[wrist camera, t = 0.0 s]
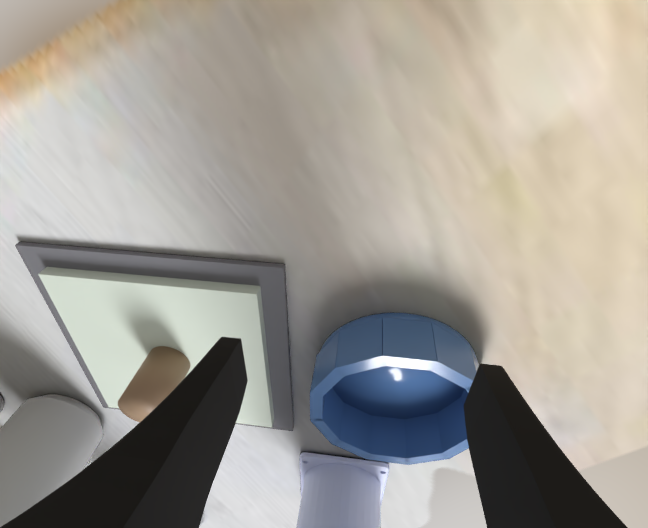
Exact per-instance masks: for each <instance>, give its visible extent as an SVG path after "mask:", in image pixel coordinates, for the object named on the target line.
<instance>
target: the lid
mask: <svg viewBox="0 0 648 528" xmlns="http://www.w3.org/2000/svg"><path fill="white" fill-rule="evenodd" d="M38 275H39V277H40V279H41V281H42V283H43V285H44V286H45V288H46V290H47V292H48V294H49V296H50V298H51V300H52V301H53V303H54V305H55V307H56V309H57V311H58V313H59V315H60V316H61V318H62V320H63V322H64V324H65V326H66V328H67V330H68V332H69V333H70V335H71V337H72V339H73V341H74V343H75V345H76V347H77V348H78V350H79V352H80V354H81V356H82V358H83V360H84V362H85V363H86V365H87V367H88V369H89V371H90V373H91V375H92V377H93V379H94V380H95V382H96V384H97V386H98V388H99V390H100V392H101V394H102V395H103V397H104V399H105V401H106V403H107V405H108V407H111V408H119V409H120V410H121V411H122V412H123V413H124V414H125V415H126V416H128V417H129V418H131V419H133V420H135V421H138V422H141V421H142V420H143V419H144V418H145V417H146V416H148V415H149V414H150V413H151V412H152V411H153V410H154V409H155V408H156V407H157V406H158V405H159V404H160V403H161V402H162V401H163V400H164V399H165V398H166V397H167V396H168V395H169V394H170V393H171V392H172V391H173V390H174V389H175V388H176V387H177V386H178V385H179V383H180V382H181V381H182V380H183V379H184V378H185V377H186V376H187V375H188V374H189V373H190V372H191V371H192V370H193V368H194V367H195V366H196V365H197V364H198V363H199V362H200V361H201V359H202V358H203V357H204V356H205V355H206V354H207V353H208V351H209V350H210V349H211V348H212V347H213V346H214V344H215V343H216V342H217V341H218V340H219V339H220V338H221V337H230V338H240V339H241V341H242V348H243V354H244V360H245V366H246V373H247V379H248V382H247V386H246V390H245V394H244V398H243V401H242V405H241V409H240V413H239V415H238V418H237V421H236V423H239V424H247V425H255V426H263V427H271V428H272V426H273V422H274V410H273V401H272V391H271V382H270V372H269V363H268V354H267V344H266V335H265V325H264V316H263V307H262V297H261V288H260V286H255V285H244V284H233V283H222V282H211V281H200V280H189V279H177V278H166V277H155V276H144V275H133V274H122V273H111V272H100V271H89V270H78V269H67V268H56V267H46V268H45V269H44V270H43V271H41V272H40V273H39V274H38Z"/></svg>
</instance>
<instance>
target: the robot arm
mask: <svg viewBox="0 0 648 528" xmlns="http://www.w3.org/2000/svg"><path fill="white" fill-rule="evenodd" d="M247 382H248V379H247V373H246V366H245V360H244V354H243V348H242V341H241V339H240V338H230V337H221V338H220V339H219V340H218V341H217V342H216V343H215V344H214V346H213V347H212V348H211V349H210V350H209V351H208V353H207V354H206V355H205V356H204V357H203V358H202V359H201V361H200V362H199V363H198V364H197V365H196V366H195V367H194V368H193V370H192V371H191V372H190V373H189V374H188V375H187V376H186V377H185V378H184V379H183V380H182V381H181V382H180V383H179V385H178V386H177V387H176V388H175V389H174V390H173V391H172V392H171V393H170V394H169V395H168V396H167V397H166V398H165V399H164V400H163V401H162V402H161V403H160V404H159V405H158V406H157V407H156V408H155V409H154V410H153V411H152V412H151V413H150V414H149V415H148V416H146V417H145V418H144V419H143V420H142V421H141V422H140V423H139V424H138V425H137V426H136V427H135V428H133V429H132V430H131V431H130V432H129V433H128V434H127V435H125V436H124V437H123V438H122V439H121V440H120V441H118V442H117V443H116V444H115V445H114V446H113V447H111V448H110V449H109V450H108V451H106V452H105V453H104V454H103V455H101V456H100V457H99V458H98V459H96V460H95V461H94V462H93V463H91V464H90V465H89V466H88V467H86V468H85V469H84V470H82V471H81V472H80V473H78V474H77V475H76V476H74V477H73V478H72V479H70V480H69V481H68V482H66V483H65V484H63V485H62V486H60V487H59V488H58V489H56V490H55V491H53V492H52V493H50V494H49V495H48V496H46V497H45V498H43V499H42V500H40V501H39V502H38V503H36V504H35V505H33V506H32V507H31V508H29V509H28V510H26V511H25V512H23V513H22V514H20V515H19V516H17V517H16V518H14V519H12V520H11V521H9V522H8V523H6V524H4V525H3V526H1V527H0V528H199V525H200V521H201V518H202V514H203V511H204V507H205V504H206V501H207V498H208V495H209V492H210V489H211V486H212V483H213V480H214V478H215V475H216V473H217V470H218V467H219V465H220V462H221V460H222V457H223V455H224V452H225V449H226V447H227V444H228V442H229V439H230V436H231V434H232V431H233V428H234V426H235V423H236V421H237V418H238V415H239V413H240V409H241V405H242V401H243V398H244V394H245V390H246V386H247ZM464 415H465V425H466V433H467V441H468V446H469V450H470V455H471V459H472V463H473V468H474V472H475V477H476V481H477V485H478V489H479V493H480V498H481V502H482V506H483V511H484V515H485V519H486V524H487V528H627V527H626V526H625V524H623V523H622V521H621V520H620V519H619V518H618V517H617V516H616V515H615V514H614V513H613V511H612V510H611V509H610V508H609V507H608V506H607V505H606V504H605V502H604V501H603V500H602V499H601V498H600V497H599V496H598V494H597V493H596V492H595V491H594V490H593V489H592V487H591V486H590V485H589V484H588V483H587V482H586V480H585V479H584V478H583V477H582V475H581V474H580V473H579V472H578V471H577V469H576V468H575V467H574V466H573V464H572V463H571V462H570V461H569V459H568V458H567V457H566V456H565V454H564V453H563V452H562V450H561V449H560V448H559V447H558V445H557V444H556V443H555V441H554V440H553V438H552V437H551V436H550V434H549V433H548V432H547V430H546V429H545V428H544V426H543V425H542V424H541V422H540V421H539V420H538V418H537V417H536V415H535V414H534V413H533V411H532V410H531V408H530V407H529V405H528V404H527V402H526V401H525V400H524V398H523V397H522V395H521V394H520V392H519V391H518V389H517V388H516V386H515V385H514V383H513V382H512V380H511V379H510V377H509V376H508V374H507V373H506V371H505V370H504V369H503V367H502V366H497V365H488V364H479V367H478V369H477V372H476V375H475V377H474V380H473V382H472V385H471V387H470V390H469V393H468V395H467V398H466V400H465V403H464ZM388 473H389V465H388V464H387V463H384V462H376V461H368V460H361V459H353V458H345V457H337V456H330V455H322V454H314V453H307V452H303V453H301V454H300V479H301V503H300V509H299V515H298V521H297V528H381V503H382V499H383V494H384V490H385V486H386V482H387V477H388Z"/></svg>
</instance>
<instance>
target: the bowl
mask: <svg viewBox="0 0 648 528" xmlns="http://www.w3.org/2000/svg"><path fill="white" fill-rule="evenodd" d="M478 367H479V363H478V361H477V357H476V354H475V352H474V350H473V348H472V346H471V345H470V343H469V342H468V341H467V340H466V339H465V338H464V337H463V336H462V335H461V334H460V333H459V332H457V331H456V330H454V329H453V328H451V327H450V326H448V325H446V324H444V323H442V322H440V321H437V320H434V319H432V318H429V317H425V316H420V315H415V314H408V313H381V314H374V315H369V316H365V317H361V318H359V319H356V320H353V321H351V322H349V323H347V324H345V325H343V326H341V327H340V328H339V329H337V330H336V331H334V332H333V333H332V334H331V335H330V336H329V337H328V338H327V340H326V341H325V342H324V344H323V346H322V347H321V349H320V352H319V353H318V354H317V356H316V362H315V367H314V373H313V379H312V384H311V390H310V421H311V422H312V423H313V424H314V425H315V426H316V427H317V428H318V429H319V431H320V432H321V433H322V434H323V435H324V436H325V437H326V438H327V439H328V441H329V442H330V443H332V444H333V445H335V446H338V447H340V448H342V449H344V450H346V451H349V452H351V453H353V454H355V455H358V456H360V457H362V458H364V459H368V460H375V461H383V462H391V463H398V464H406V465H410V464H417V463H424V462H430V461H437V460H444V459H450V458H452V457H453V456H455V455H457V454H459V453H461V452H462V451H464V450H466V449H468V448H469V446H468V441H467V433H466V425H465V415H464V403H465V400H466V398H467V395H468V393H469V390H470V387H471V385H472V382H473V380H474V377H475V375H476V372H477V369H478Z"/></svg>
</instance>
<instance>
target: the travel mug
mask: <svg viewBox="0 0 648 528" xmlns="http://www.w3.org/2000/svg"><path fill="white" fill-rule="evenodd" d="M3 408H4V401H3V398H2V396H1V395H0V412H1V411H2V410H3Z"/></svg>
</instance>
